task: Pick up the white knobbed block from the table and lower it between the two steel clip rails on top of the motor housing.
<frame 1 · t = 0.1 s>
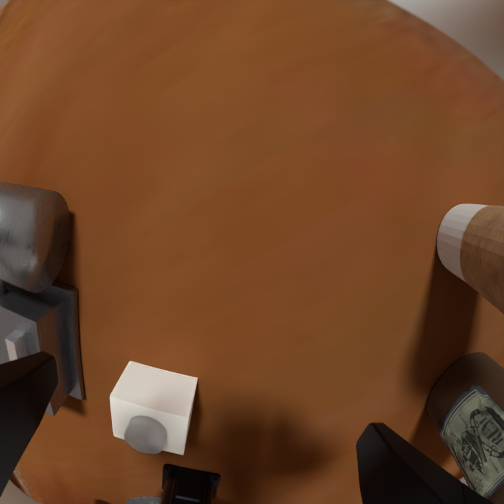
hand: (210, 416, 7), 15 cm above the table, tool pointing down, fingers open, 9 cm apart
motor: (23, 326, 22), on the table
white knobbed block: (161, 390, 24), on the table
coffee cup: (460, 237, 21), on the table
olive oil: (458, 385, 25), on the table
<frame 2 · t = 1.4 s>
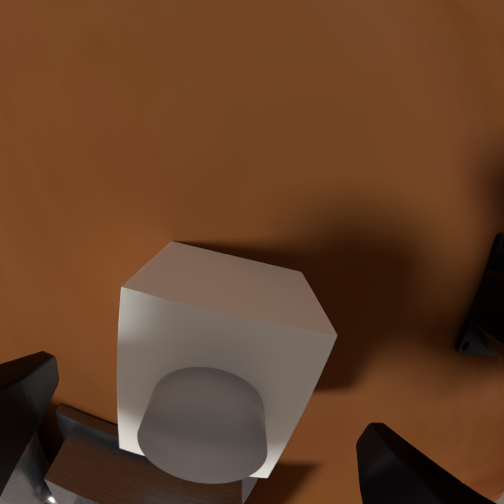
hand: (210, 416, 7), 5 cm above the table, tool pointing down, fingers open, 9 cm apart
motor: (153, 490, 15), on the table
white knobbed block: (219, 326, 12), on the table
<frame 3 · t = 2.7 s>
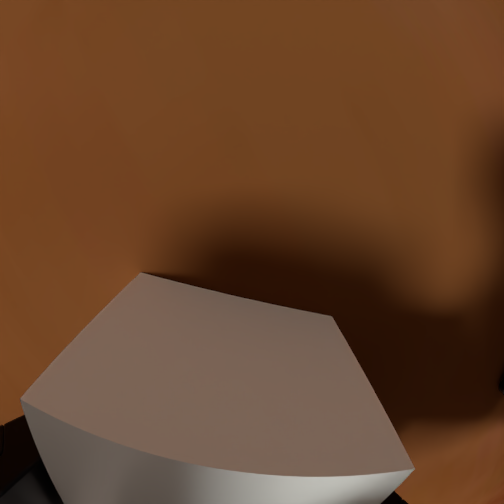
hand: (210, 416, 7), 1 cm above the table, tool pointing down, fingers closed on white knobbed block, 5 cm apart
white knobbed block: (214, 387, 8), on the table, touching gripper
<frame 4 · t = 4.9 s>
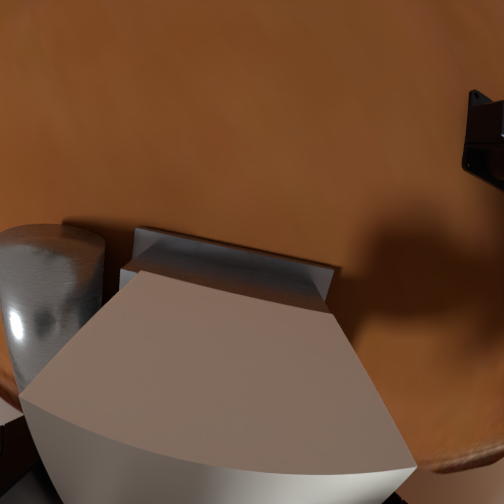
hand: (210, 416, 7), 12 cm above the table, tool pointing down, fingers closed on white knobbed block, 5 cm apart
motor: (214, 345, 20), on the table
white knobbed block: (215, 386, 8), point 11 cm above the table, touching gripper
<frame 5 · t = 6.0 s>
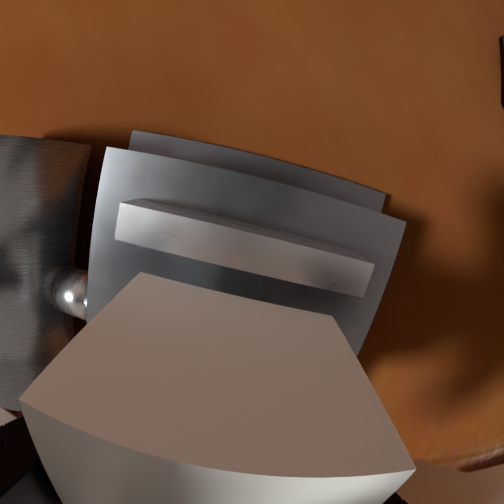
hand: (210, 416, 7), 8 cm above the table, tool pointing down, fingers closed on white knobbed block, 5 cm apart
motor: (226, 298, 15), on the table
white knobbed block: (214, 387, 8), point 7 cm above the table, touching gripper
when the fingers open (7 cm above the table, at t = 7.0 s): white knobbed block drops 1 cm, resting on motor.
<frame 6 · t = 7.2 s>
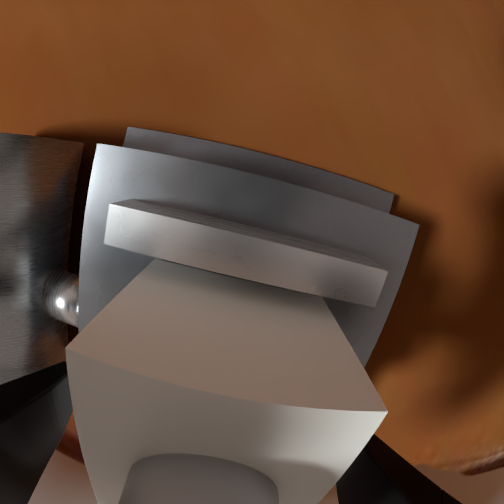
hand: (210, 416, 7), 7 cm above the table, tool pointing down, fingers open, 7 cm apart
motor: (226, 304, 14), on the table
white knobbed block: (218, 363, 9), point 5 cm above the table, touching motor
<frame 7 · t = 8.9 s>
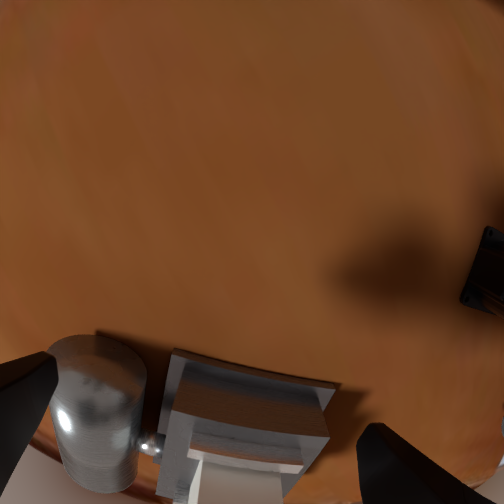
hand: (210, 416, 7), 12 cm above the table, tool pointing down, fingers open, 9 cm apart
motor: (232, 430, 22), on the table
white knobbed block: (231, 476, 17), point 5 cm above the table, touching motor
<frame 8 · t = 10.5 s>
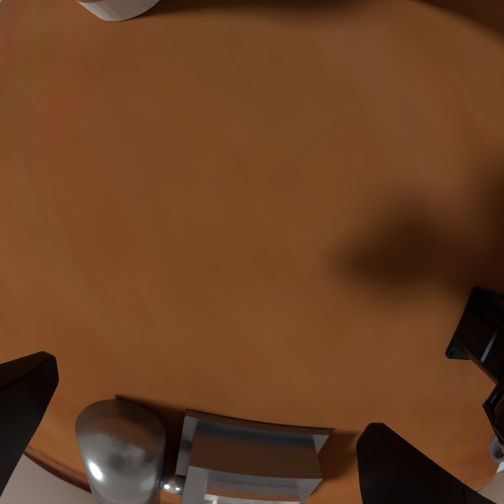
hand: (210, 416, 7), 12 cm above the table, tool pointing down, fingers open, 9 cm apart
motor: (241, 466, 23), on the table
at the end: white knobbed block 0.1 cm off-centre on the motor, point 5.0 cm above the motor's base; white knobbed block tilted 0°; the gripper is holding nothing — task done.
